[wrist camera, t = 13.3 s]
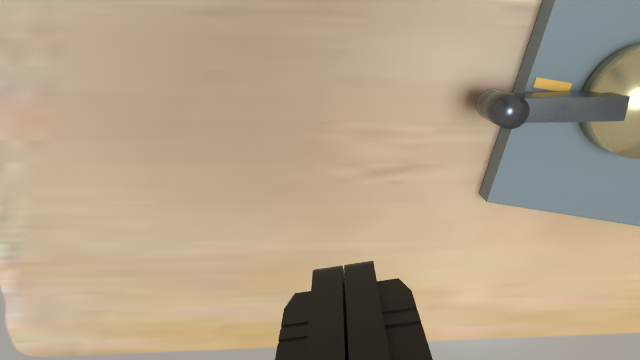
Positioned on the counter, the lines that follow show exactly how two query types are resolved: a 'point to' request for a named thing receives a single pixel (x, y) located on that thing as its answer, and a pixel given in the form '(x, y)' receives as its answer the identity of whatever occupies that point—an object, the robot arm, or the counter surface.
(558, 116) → the tan disc with handle
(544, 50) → the instrument base
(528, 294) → the counter surface
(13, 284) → the counter surface
